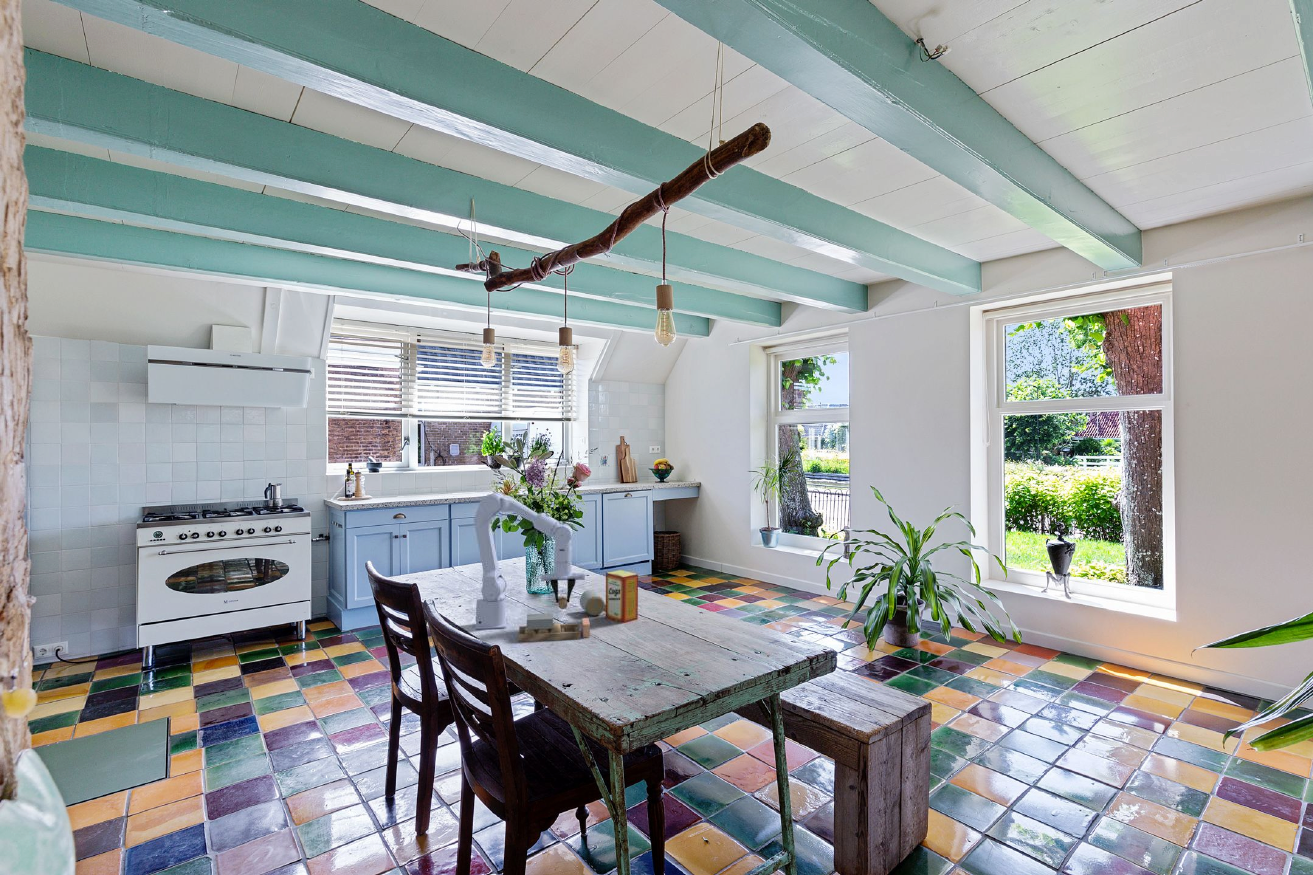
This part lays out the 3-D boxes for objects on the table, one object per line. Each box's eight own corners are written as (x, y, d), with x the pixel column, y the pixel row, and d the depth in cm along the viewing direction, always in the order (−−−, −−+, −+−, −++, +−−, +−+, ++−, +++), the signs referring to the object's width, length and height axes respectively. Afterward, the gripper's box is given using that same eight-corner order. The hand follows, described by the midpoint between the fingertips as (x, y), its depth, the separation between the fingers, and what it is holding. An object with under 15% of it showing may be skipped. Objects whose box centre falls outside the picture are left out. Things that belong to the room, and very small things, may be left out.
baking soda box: (605, 617, 221) (605, 571, 221) (619, 613, 225) (620, 568, 225) (623, 623, 214) (623, 576, 214) (637, 619, 218) (638, 573, 218)
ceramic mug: (585, 617, 220) (586, 595, 220) (579, 611, 228) (579, 590, 228) (614, 614, 224) (615, 593, 224) (607, 608, 232) (607, 588, 232)
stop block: (583, 637, 199) (583, 624, 199) (581, 630, 206) (582, 618, 206) (589, 636, 199) (589, 624, 199) (588, 630, 206) (588, 617, 206)
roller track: (518, 641, 194) (518, 631, 194) (519, 632, 203) (519, 622, 203) (580, 638, 197) (580, 628, 197) (578, 629, 206) (578, 619, 206)
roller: (567, 608, 208) (567, 599, 208) (558, 609, 208) (558, 600, 208) (566, 603, 214) (566, 594, 214) (558, 604, 214) (557, 595, 213)
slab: (526, 629, 196) (526, 619, 196) (527, 623, 202) (527, 614, 202) (552, 628, 197) (552, 618, 197) (552, 622, 203) (552, 613, 203)
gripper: (540, 564, 205) (540, 605, 206) (585, 563, 208) (585, 604, 208) (540, 559, 212) (540, 600, 213) (584, 558, 215) (583, 598, 215)
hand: (562, 601), depth 211 cm, fingers closed on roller, 3 cm apart
